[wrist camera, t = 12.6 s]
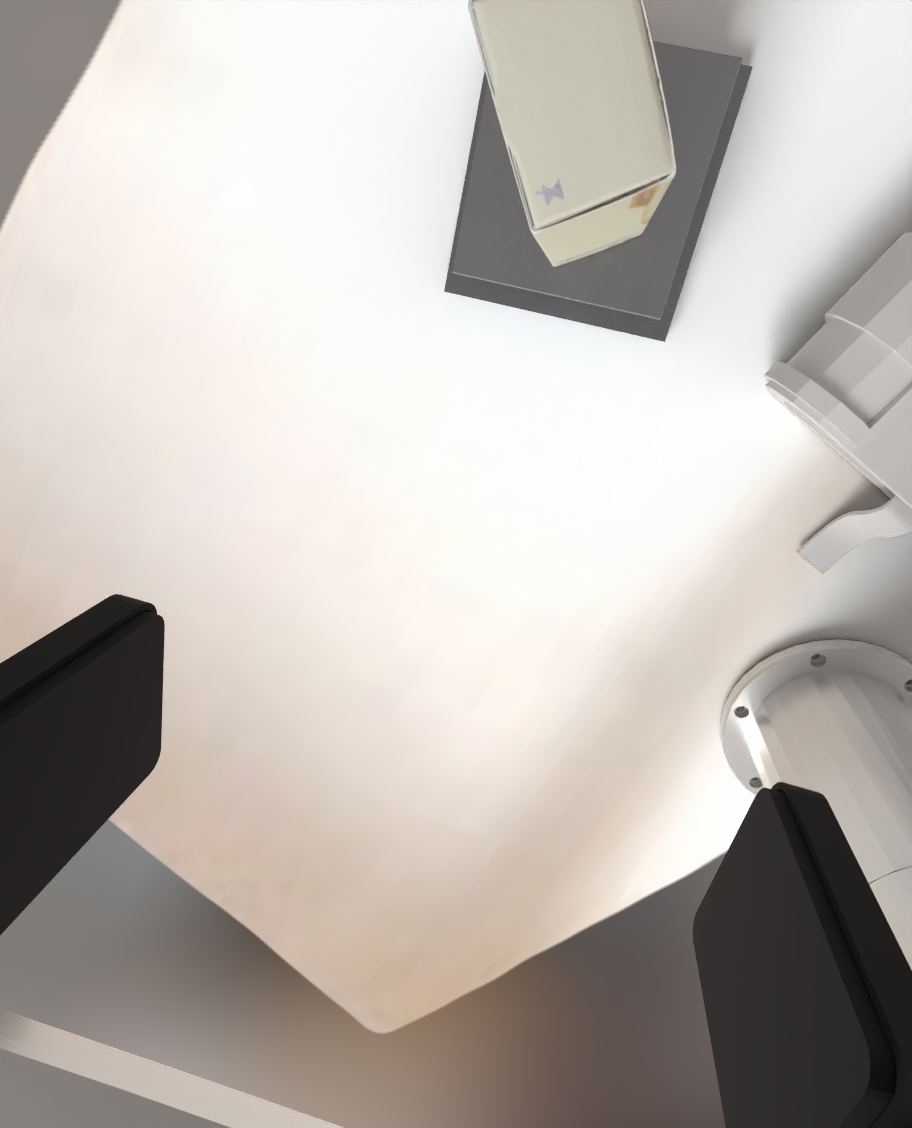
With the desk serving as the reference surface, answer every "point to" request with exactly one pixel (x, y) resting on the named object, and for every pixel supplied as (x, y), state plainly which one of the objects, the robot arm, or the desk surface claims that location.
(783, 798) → the robot arm
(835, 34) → the desk surface
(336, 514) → the desk surface
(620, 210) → the skincare box
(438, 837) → the desk surface
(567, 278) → the grey piece
